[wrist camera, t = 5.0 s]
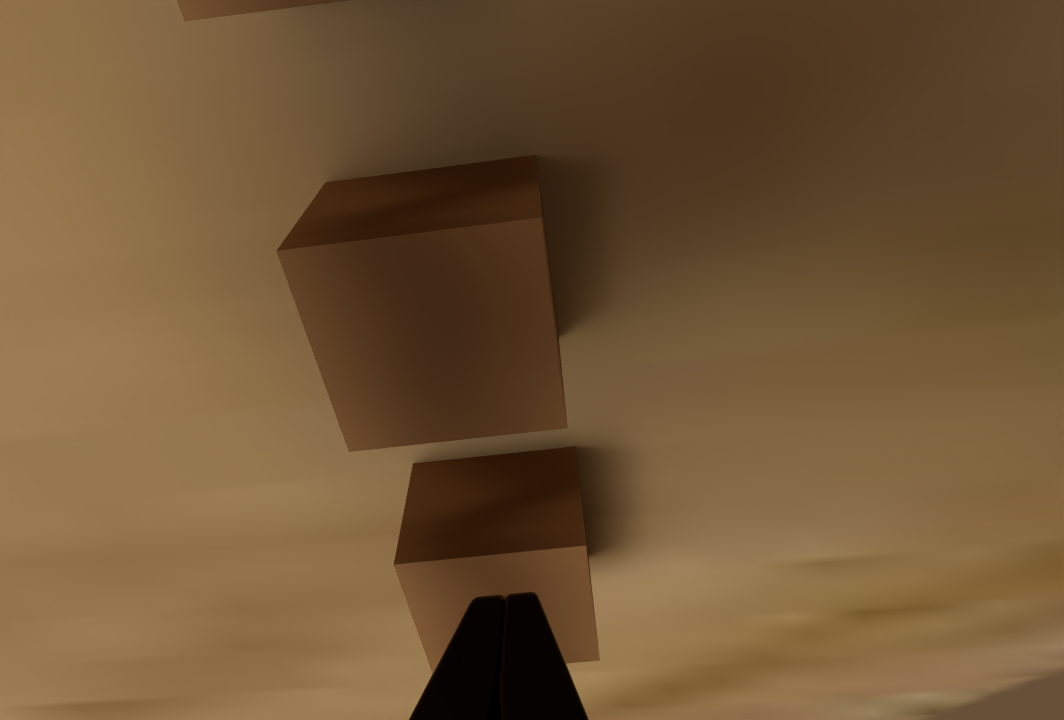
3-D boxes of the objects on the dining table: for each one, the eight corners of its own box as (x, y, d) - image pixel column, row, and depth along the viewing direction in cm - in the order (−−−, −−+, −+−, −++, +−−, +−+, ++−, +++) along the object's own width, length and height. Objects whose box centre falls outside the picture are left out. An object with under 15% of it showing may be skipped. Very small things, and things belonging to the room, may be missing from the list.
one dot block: (574, 443, 21) (586, 551, 17) (587, 553, 23) (600, 666, 20) (413, 460, 21) (392, 570, 17) (445, 567, 24) (432, 681, 20)
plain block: (536, 153, 16) (541, 217, 12) (558, 335, 19) (567, 427, 15) (326, 180, 16) (276, 250, 13) (379, 356, 19) (349, 451, 15)
